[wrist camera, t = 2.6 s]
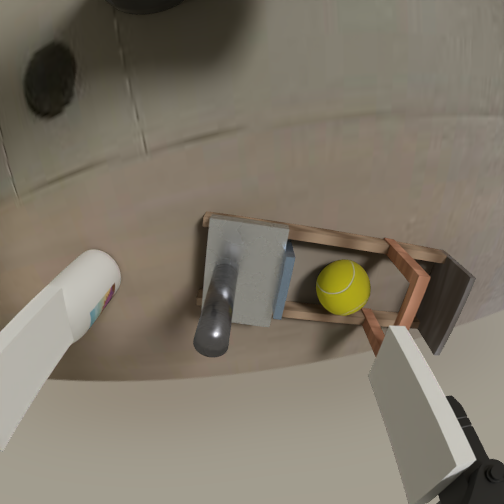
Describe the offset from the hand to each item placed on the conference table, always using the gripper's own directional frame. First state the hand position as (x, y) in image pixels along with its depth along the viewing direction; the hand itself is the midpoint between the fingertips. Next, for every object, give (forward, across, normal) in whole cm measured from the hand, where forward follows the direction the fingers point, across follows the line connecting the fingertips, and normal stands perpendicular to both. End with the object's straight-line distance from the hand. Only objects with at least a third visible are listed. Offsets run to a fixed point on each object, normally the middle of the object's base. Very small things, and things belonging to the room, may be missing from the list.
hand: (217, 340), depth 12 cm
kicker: (+29, +1, -10) cm, 31 cm away
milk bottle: (+29, -21, -14) cm, 38 cm away
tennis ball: (+29, +14, -10) cm, 34 cm away
